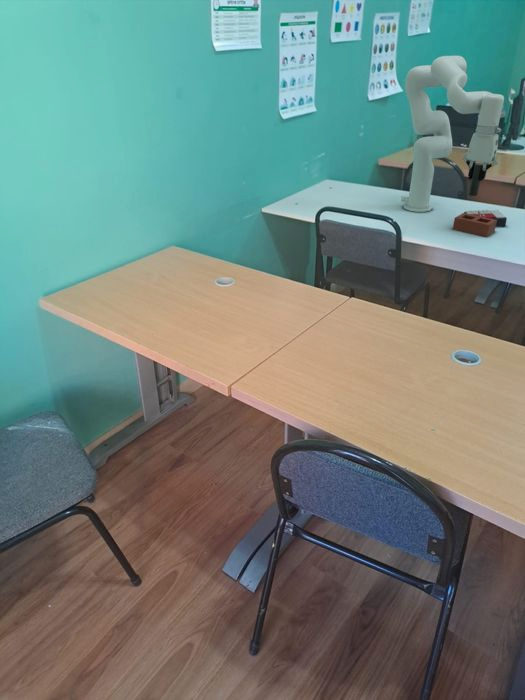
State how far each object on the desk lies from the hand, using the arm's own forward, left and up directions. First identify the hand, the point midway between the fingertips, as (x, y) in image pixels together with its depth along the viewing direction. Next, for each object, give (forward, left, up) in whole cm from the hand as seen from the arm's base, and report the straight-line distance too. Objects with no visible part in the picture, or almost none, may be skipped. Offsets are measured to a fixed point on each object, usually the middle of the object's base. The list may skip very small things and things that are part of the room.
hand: (475, 179), depth 205 cm
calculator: (+2, +14, -21) cm, 26 cm away
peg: (0, 0, -6) cm, 6 cm away
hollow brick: (+3, +1, -21) cm, 21 cm away
